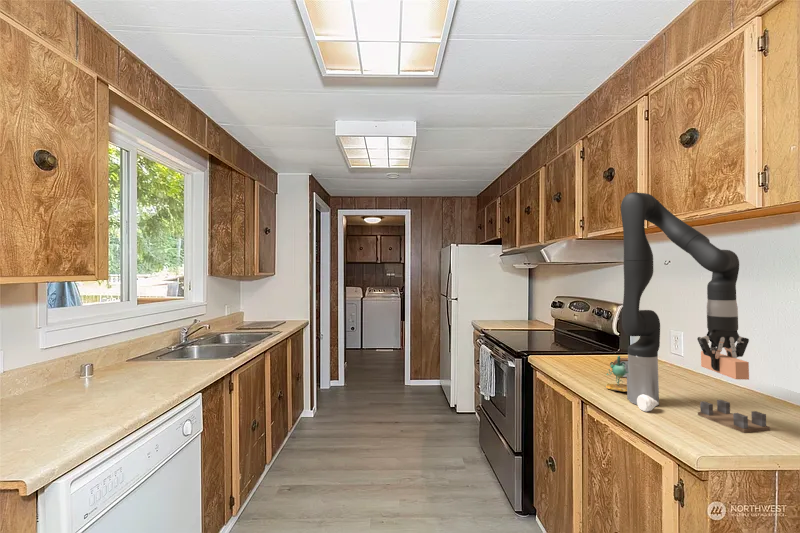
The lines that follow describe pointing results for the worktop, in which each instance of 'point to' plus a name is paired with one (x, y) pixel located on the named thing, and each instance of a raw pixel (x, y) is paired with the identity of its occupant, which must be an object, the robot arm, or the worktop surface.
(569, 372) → the worktop surface
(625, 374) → the tin
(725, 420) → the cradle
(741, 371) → the terracotta clay brick
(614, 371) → the frog figurine
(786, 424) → the worktop surface
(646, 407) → the garlic bulb
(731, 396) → the worktop surface
